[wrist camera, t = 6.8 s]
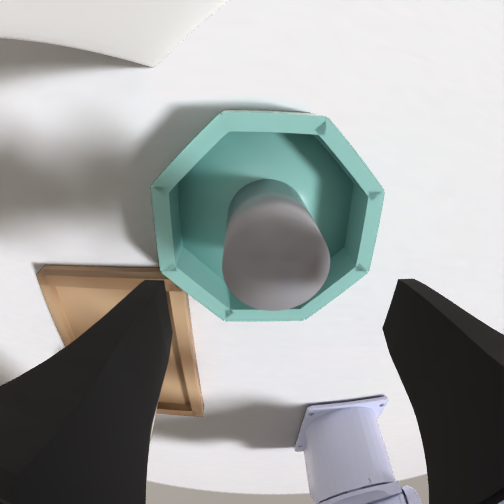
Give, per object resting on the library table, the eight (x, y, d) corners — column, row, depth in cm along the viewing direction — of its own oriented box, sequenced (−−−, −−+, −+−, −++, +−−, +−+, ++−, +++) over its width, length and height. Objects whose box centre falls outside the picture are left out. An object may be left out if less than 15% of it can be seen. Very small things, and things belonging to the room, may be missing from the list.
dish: (344, 291, 19) (356, 318, 16) (176, 291, 18) (168, 319, 16) (370, 120, 14) (393, 125, 12) (161, 112, 13) (146, 115, 11)
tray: (203, 405, 24) (202, 416, 23) (99, 394, 24) (95, 404, 23) (184, 268, 18) (181, 279, 17) (44, 265, 17) (36, 274, 16)
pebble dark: (297, 255, 17) (316, 313, 12) (223, 247, 16) (218, 306, 12) (312, 184, 15) (341, 224, 11) (231, 174, 15) (227, 210, 10)
